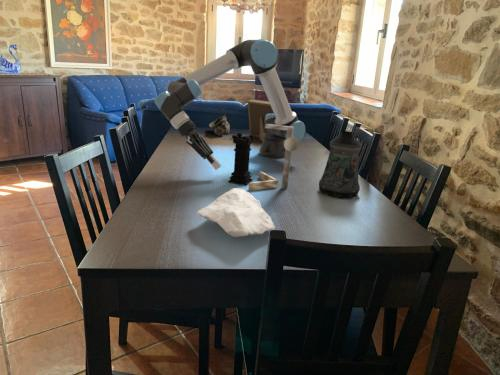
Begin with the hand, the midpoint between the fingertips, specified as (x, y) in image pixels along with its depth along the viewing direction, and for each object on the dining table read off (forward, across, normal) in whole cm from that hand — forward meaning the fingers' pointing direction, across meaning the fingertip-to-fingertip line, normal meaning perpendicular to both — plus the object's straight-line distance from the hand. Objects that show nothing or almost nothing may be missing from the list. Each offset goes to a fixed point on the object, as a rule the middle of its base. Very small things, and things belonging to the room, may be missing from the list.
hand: (218, 168), depth 158 cm
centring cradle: (+18, -2, +11) cm, 21 cm away
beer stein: (+39, -6, +32) cm, 50 cm away
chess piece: (+11, 0, +4) cm, 11 cm away
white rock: (+18, +42, +11) cm, 48 cm away
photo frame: (0, -98, -6) cm, 98 cm away
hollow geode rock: (-21, -97, -27) cm, 103 cm away
